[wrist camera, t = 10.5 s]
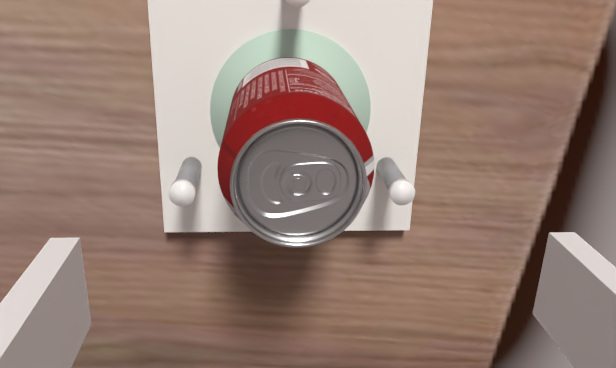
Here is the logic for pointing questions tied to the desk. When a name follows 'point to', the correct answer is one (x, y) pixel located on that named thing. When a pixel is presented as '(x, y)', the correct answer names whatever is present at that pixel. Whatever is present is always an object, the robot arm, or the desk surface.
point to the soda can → (294, 154)
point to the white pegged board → (274, 44)
